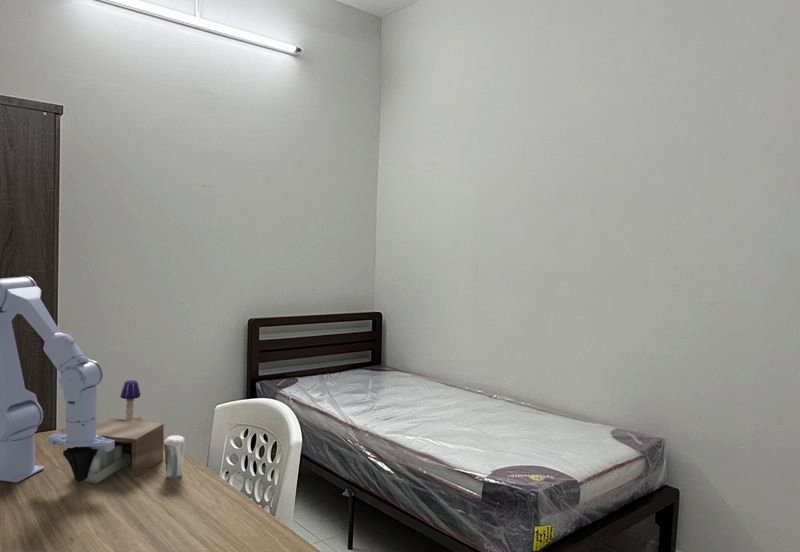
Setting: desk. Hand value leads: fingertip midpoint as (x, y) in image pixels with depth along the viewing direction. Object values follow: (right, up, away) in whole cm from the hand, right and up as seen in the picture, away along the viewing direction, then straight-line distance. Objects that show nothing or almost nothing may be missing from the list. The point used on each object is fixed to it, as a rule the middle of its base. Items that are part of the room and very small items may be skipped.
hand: (81, 479), depth 126 cm
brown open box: (+4, 0, +11) cm, 12 cm away
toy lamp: (0, 0, +23) cm, 23 cm away
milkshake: (+18, -2, +6) cm, 19 cm away
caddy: (+1, -1, +7) cm, 7 cm away
